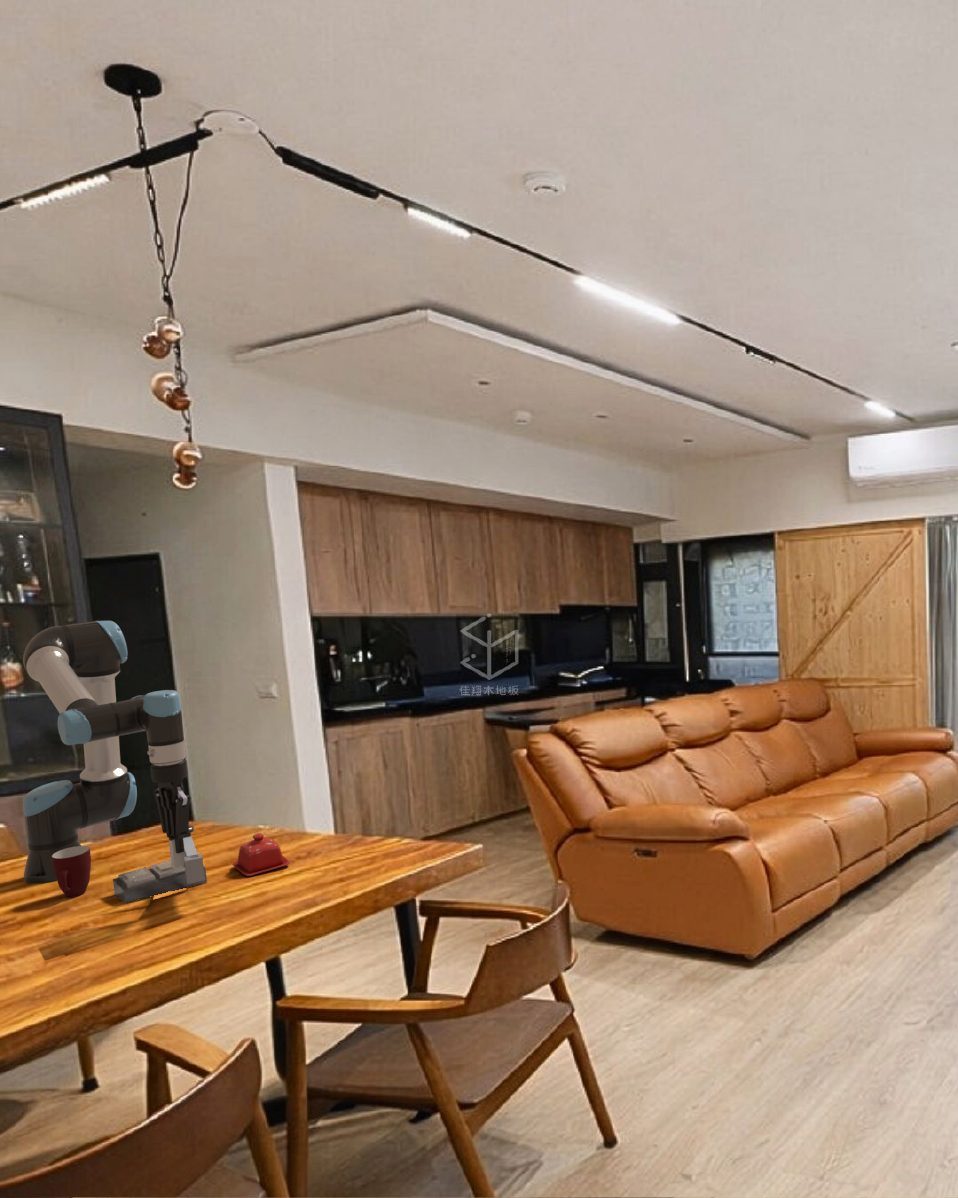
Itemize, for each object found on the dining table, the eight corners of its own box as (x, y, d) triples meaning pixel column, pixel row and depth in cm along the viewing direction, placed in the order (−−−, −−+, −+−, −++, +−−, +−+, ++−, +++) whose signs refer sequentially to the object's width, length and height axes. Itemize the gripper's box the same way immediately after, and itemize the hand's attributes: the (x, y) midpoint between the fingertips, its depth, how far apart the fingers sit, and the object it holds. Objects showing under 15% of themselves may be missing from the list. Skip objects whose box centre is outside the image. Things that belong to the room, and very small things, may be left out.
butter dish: (293, 867, 206) (289, 833, 205) (246, 881, 199) (242, 846, 199) (275, 855, 215) (272, 822, 215) (230, 868, 209) (226, 834, 208)
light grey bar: (180, 860, 199) (178, 839, 199) (196, 856, 200) (194, 835, 200) (187, 884, 183) (184, 861, 183) (204, 880, 185) (202, 857, 185)
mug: (88, 902, 194) (82, 858, 194) (49, 908, 193) (44, 864, 192) (98, 884, 205) (93, 843, 204) (61, 890, 203) (56, 849, 202)
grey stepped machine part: (114, 896, 196) (108, 843, 195) (193, 873, 207) (187, 822, 206) (126, 909, 188) (119, 853, 187) (207, 884, 199) (201, 831, 198)
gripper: (138, 761, 191) (149, 865, 192) (165, 769, 182) (176, 878, 183) (170, 754, 196) (180, 854, 198) (198, 761, 187) (209, 866, 189)
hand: (178, 866), depth 190 cm, fingers closed
